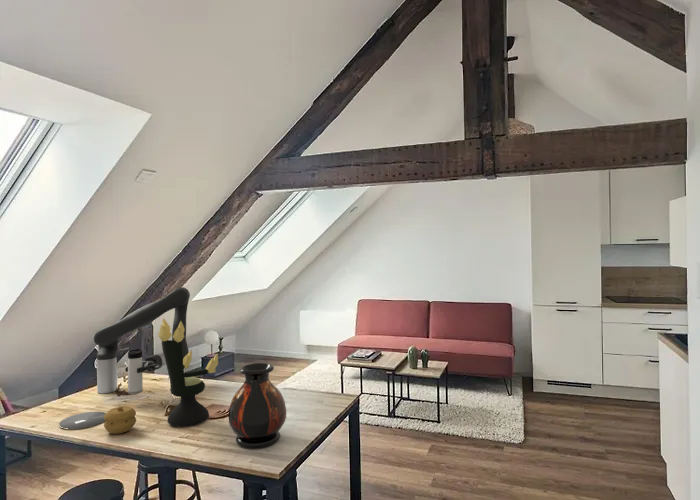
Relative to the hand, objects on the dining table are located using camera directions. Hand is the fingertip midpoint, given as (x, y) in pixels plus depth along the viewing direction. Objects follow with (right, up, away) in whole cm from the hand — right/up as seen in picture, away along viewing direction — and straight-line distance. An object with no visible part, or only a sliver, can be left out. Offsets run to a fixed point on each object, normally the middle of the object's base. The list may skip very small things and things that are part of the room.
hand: (131, 370), depth 216 cm
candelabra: (+33, -16, -22) cm, 43 cm away
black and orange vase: (+68, -16, -42) cm, 81 cm away
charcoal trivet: (-12, -17, -19) cm, 28 cm away
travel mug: (+1, -11, +2) cm, 11 cm away
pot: (+10, -17, -30) cm, 36 cm away
